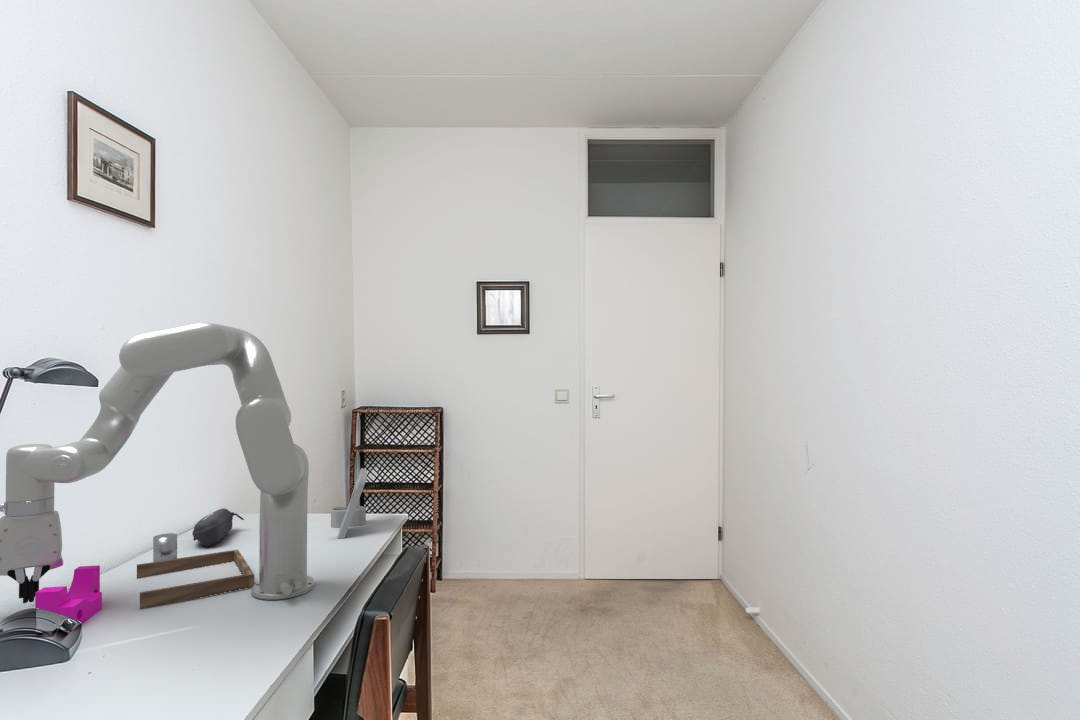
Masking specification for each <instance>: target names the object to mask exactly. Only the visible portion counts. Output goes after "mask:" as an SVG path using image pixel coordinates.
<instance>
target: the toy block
mask: <svg viewBox="0 0 1080 720" xmlns="http://www.w3.org/2000/svg"><path fill="white" fill-rule="evenodd" d="M67 587H68V586H67V585H66V586H47V587H45V586H44V587H42V588H41V589H39V591H37V592H36V593H35V598H34V601H35V602H34V605H35V607H34V609H35V608H39V609H45V610H49V611H52V612H55V613H58V614H62V615H65V616H69V617H70V618H73V619H76V620H78V621H80V622H81V623H82V624H83V623H85V622H86V621H88V620H89V619H90V618H92V617H93V616H94V615H96V614H97V613H98V612H99V611H101V610H102V609H103V591H101V589H100V588H101V565H99V564H98V565H81V566H78V567H76V568H75V569H74V570H73V577H72V581H71V584H70V587H69V589H68V588H67Z"/></svg>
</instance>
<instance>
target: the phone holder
mask: <svg viewBox="0 0 1080 720" xmlns="http://www.w3.org/2000/svg"><path fill="white" fill-rule="evenodd" d="M367 472H368V471H367V469H366V468H363V467H361V468H360V469H359V472H358V475H357V476H356V477H357V478H356V480H355V484H354V486H353V490H352V493H351V497H350V500H349V503H348V505H347V506H340V507H339V506H338V507H334V508H331V509H330V528H332V529H338V536H337V540H344V539H346V535H347V532H348V530H349V528H354V527H363V526H365V525H366V523H367V521H366V520H367V518H366V517H367V516H366V515H367V510H366V509H367V508H366V506H362V505H358V503H359V500H360V498H361V495H362V492H363V490H364V488H365V485H366V482H367V479H368V473H367Z"/></svg>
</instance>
